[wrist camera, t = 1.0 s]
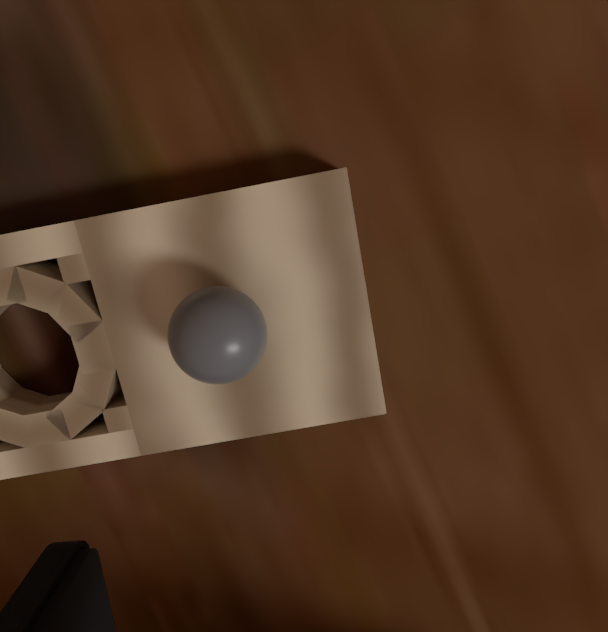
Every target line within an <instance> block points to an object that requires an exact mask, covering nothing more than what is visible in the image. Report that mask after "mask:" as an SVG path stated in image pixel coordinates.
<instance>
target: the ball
mask: <svg viewBox="0 0 608 632" xmlns="http://www.w3.org/2000/svg"><path fill="white" fill-rule="evenodd" d="M167 338H168V345H169V349H170V352H171V355H172V357H173V359H174V361H175V362H176V364H177V365H178V366H179V368H180V369H181V370H182V371H183V372H185V373H186V374H187V375H188V376H190V377H191V378H193V379H195V380H197V381H200V382H203V383H207V384H226V383H231V382H234V381H237V380H239V379H241V378H243V377H244V376H246V375H247V374H248V373H250V372H251V371H252V370H253V369H254V368H255V367H256V366H257V364H258V363H259V361H260V360H261V358H262V356H263V354H264V351H265V348H266V344H267V326H266V322H265V319H264V316H263V314H262V312H261V310H260V309H259V307H258V306H257V304H256V303H255V302H254V301H253V300H252V299H251V298H250V297H249V296H247V295H246V294H244V293H242V292H241V291H239V290H236V289H233V288H230V287H225V286H210V287H205V288H202V289H199V290H197V291H195V292H193V293H191V294H190V295H188V296H187V297H186V298H184V299H183V300H182V301H181V302H180V303H179V305H178V306H177V307H176V309H175V310H174V312H173V314H172V316H171V319H170V322H169V326H168V333H167Z"/></svg>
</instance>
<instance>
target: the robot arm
mask: <svg viewBox="0 0 608 632" xmlns="http://www.w3.org/2000/svg"><path fill="white" fill-rule="evenodd" d="M0 632H116V631H115V626H114V622H113V617H112V613H111V608H110V603H109V599H108V594H107V590H106V585H105V581H104V576H103V572H102V567H101V563H100V558H99V554H98V551H97V550H96V549H94V548H91V549H90V548H89V545H88V544H87V542H86V541H83V540H82V541H68V542H55V543H51V544H49V545H48V546H47V547H46V548H45V550H44V551H43V553H42V554H41V556H40V557H39V558H38V560H37V561H36V563H35V564H34V565H33V567H32V568H31V570H30V571H29V573H28V574H27V575H26V577H25V578H24V580H23V581H22V582H21V584H20V585H19V587H18V588H17V590H16V591H15V592H14V594H13V595H12V597H11V598H10V600H9V601H8V602H7V604H6V605H5V607H4V608H3V609H2V611H1V612H0Z"/></svg>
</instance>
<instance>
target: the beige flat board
mask: <svg viewBox="0 0 608 632" xmlns="http://www.w3.org/2000/svg"><path fill="white" fill-rule="evenodd" d="M54 258H57V262H58V264H55V263H52V262H49V261H46V260H49V259H54ZM210 286H225V287H230V288H233V289H236V290H239V291H241V292H242V293H244V294H246V295H247V296H249V297H250V298H251V299H252V300H253V301H254V302H255V303H256V304H257V306H258V307H259V309H260V310H261V312H262V314H263V316H264V319H265V322H266V326H267V344H266V348H265V351H264V354H263V356H262V358H261V360H260V361H259V363H258V364H257V366H256V367H255V368H254V369H253V370H252V371H251V372H250V373H248V374H247V375H246V376H244V377H243V378H241V379H239V380H237V381H234V382H231V383H226V384H207V383H203V382H200V381H197V380H195V379H193V378H191V377H190V376H188V375H187V374H186V373H185V372H183V371H182V370H181V369H180V368H179V366H178V365H177V364H176V362H175V361H174V359H173V357H172V355H171V352H170V349H169V345H168V338H167V333H168V326H169V322H170V319H171V316H172V314H173V312H174V310H175V309H176V307H177V306H178V305H179V303H180V302H181V301H182V300H183V299H184V298H186V297H187V296H188V295H190V294H191V293H193V292H195V291H197V290H199V289H202V288H205V287H210ZM15 303H19V304H22V305H25V306H28V307H31V308H34V309H37V310H40V311H43V312H46V313H48V314H49V315H50V316H51V317H52V318H53V319H54V320H55V321H56V322H57V323H58V324H59V325H60V326H61V327H62V328H63V329H64V330H65V331H66V332H67V333H68V334H69V335H70V336H71V339H72V342H73V345H74V349H75V352H76V355H77V358H78V362H79V369H78V373H77V377H76V381H75V384H74V388H73V392H69V393H63V394H57V395H52V396H47V395H44V394H41V393H38V392H35V391H32V390H29V389H25V388H22V387H21V386H20V385H19V384H18V383H17V382H16V381H15V380H14V379H13V378H12V377H11V376H10V375H9V374H8V373H7V372H6V371H5V370H4V369H3V368H2V367H1V364H0V480H2V479H8V478H14V477H20V476H25V475H31V474H37V473H43V472H49V471H55V470H61V469H66V468H72V467H78V466H84V465H90V464H96V463H101V462H107V461H113V460H119V459H125V458H131V457H136V456H142V455H148V454H154V453H160V452H166V451H172V450H177V449H183V448H189V447H195V446H201V445H207V444H212V443H218V442H224V441H230V440H236V439H242V438H248V437H253V436H259V435H265V434H271V433H277V432H283V431H288V430H294V429H300V428H306V427H312V426H318V425H324V424H329V423H335V422H341V421H347V420H353V419H359V418H364V417H370V416H376V415H382V414H386V407H385V401H384V395H383V389H382V383H381V377H380V371H379V364H378V358H377V352H376V346H375V340H374V334H373V327H372V321H371V315H370V309H369V303H368V297H367V290H366V284H365V278H364V272H363V266H362V260H361V254H360V247H359V241H358V235H357V229H356V223H355V217H354V210H353V204H352V198H351V192H350V186H349V180H348V173H347V167H345V168H340V169H335V170H330V171H325V172H320V173H315V174H310V175H305V176H299V177H294V178H289V179H284V180H279V181H274V182H269V183H264V184H258V185H253V186H248V187H243V188H238V189H233V190H228V191H223V192H217V193H212V194H207V195H202V196H197V197H192V198H187V199H182V200H177V201H171V202H166V203H161V204H156V205H151V206H146V207H141V208H136V209H130V210H125V211H120V212H115V213H110V214H105V215H100V216H95V217H89V218H84V219H79V220H74V221H69V222H64V223H59V224H54V225H49V226H43V227H38V228H33V229H28V230H23V231H18V232H13V233H8V234H2V235H0V315H1V314H2V313H3V312H4V311H5V310H6V309H7V308H8V307H9V306H10V305H11V304H15ZM102 412H103V417H98V416H99V415H100V414H101V413H102ZM96 417H97V418H96Z"/></svg>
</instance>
